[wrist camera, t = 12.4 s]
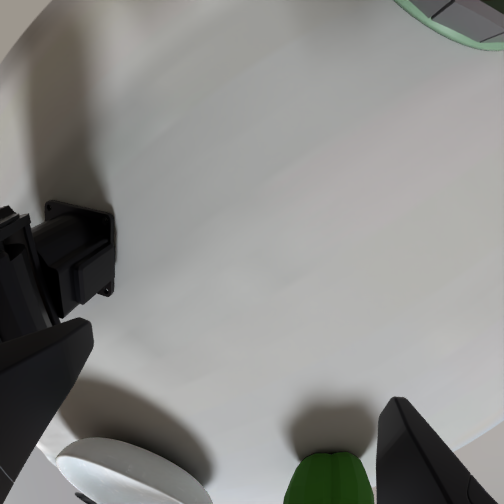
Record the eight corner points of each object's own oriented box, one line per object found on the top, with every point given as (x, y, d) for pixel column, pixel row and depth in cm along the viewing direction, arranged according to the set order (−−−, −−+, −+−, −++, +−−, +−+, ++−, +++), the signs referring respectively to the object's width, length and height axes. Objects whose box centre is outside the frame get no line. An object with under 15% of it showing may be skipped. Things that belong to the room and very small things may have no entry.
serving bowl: (57, 426, 34) (35, 457, 28) (134, 398, 27) (104, 449, 21) (157, 502, 39) (144, 533, 32) (259, 494, 32) (250, 538, 25)
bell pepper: (380, 464, 26) (387, 542, 17) (314, 484, 29) (308, 556, 20) (350, 430, 25) (354, 525, 16) (275, 454, 27) (261, 539, 18)
